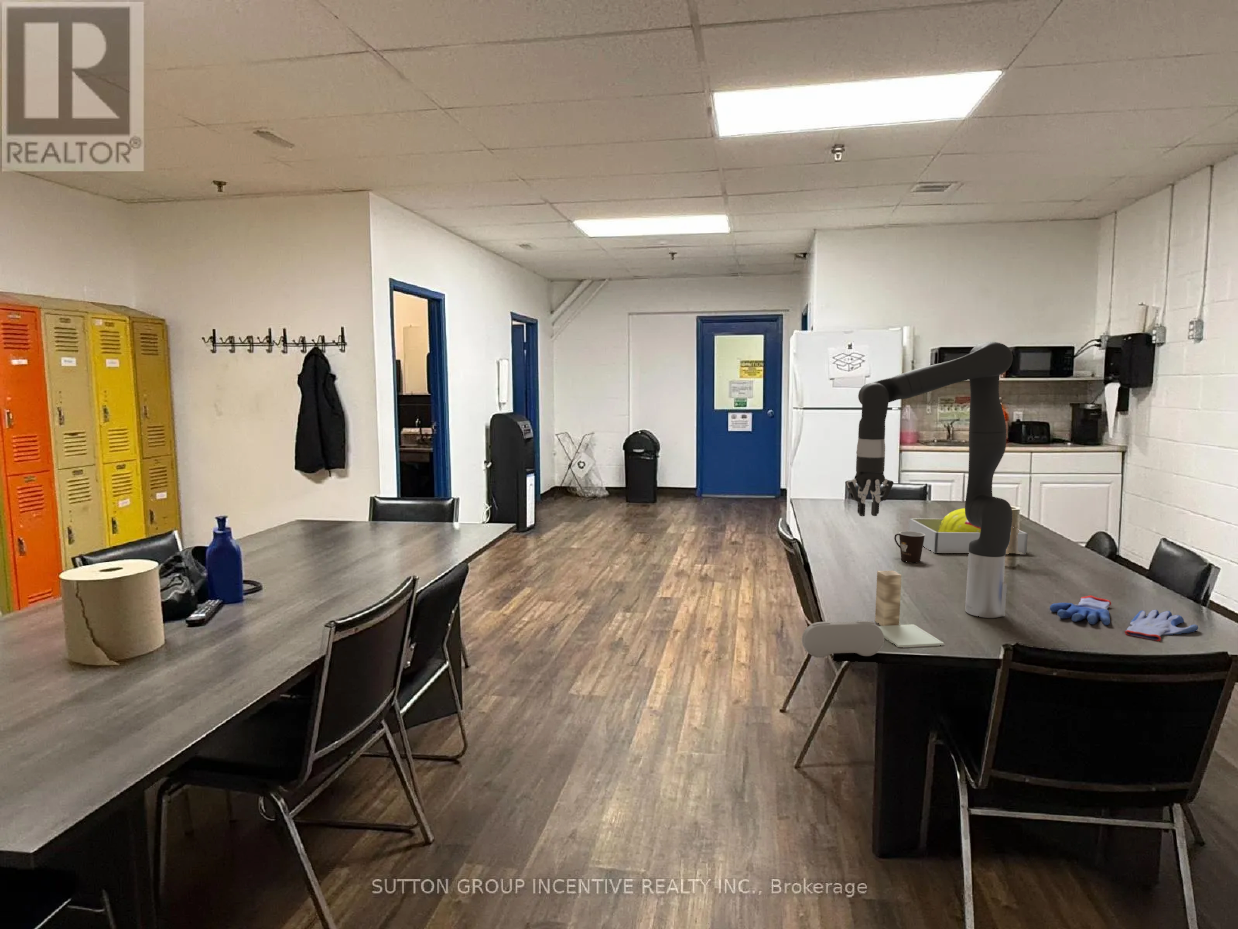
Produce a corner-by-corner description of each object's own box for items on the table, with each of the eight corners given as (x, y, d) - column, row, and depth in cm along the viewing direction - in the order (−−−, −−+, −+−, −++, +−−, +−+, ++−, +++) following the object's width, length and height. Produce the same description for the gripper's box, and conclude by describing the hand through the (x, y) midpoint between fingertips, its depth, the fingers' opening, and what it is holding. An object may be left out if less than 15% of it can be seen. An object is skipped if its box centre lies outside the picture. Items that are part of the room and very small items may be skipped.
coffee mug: (927, 564, 262) (928, 536, 261) (902, 563, 263) (904, 536, 261) (914, 556, 274) (916, 529, 273) (891, 555, 274) (892, 529, 273)
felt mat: (871, 628, 195) (871, 626, 195) (913, 626, 197) (913, 624, 196) (898, 647, 181) (898, 645, 181) (943, 645, 183) (943, 643, 183)
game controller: (879, 652, 178) (880, 619, 177) (883, 656, 176) (885, 622, 175) (800, 655, 177) (801, 621, 176) (804, 658, 174) (805, 624, 174)
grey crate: (991, 538, 304) (992, 519, 303) (1026, 554, 277) (1027, 533, 276) (907, 537, 306) (908, 518, 305) (934, 553, 278) (935, 532, 277)
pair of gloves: (1203, 626, 199) (1205, 613, 198) (1183, 650, 181) (1184, 636, 181) (1070, 600, 222) (1071, 588, 222) (1041, 619, 205) (1042, 606, 204)
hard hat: (921, 539, 303) (923, 503, 301) (988, 541, 298) (991, 505, 297) (933, 550, 283) (936, 512, 281) (1006, 553, 279) (1008, 514, 277)
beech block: (890, 620, 201) (892, 570, 200) (899, 626, 197) (901, 575, 195) (875, 621, 201) (877, 571, 199) (883, 627, 196) (885, 575, 195)
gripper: (852, 456, 202) (850, 519, 204) (901, 456, 204) (898, 517, 206) (840, 453, 209) (838, 514, 211) (887, 453, 211) (884, 512, 213)
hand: (868, 515), depth 208 cm, fingers open, 3 cm apart
